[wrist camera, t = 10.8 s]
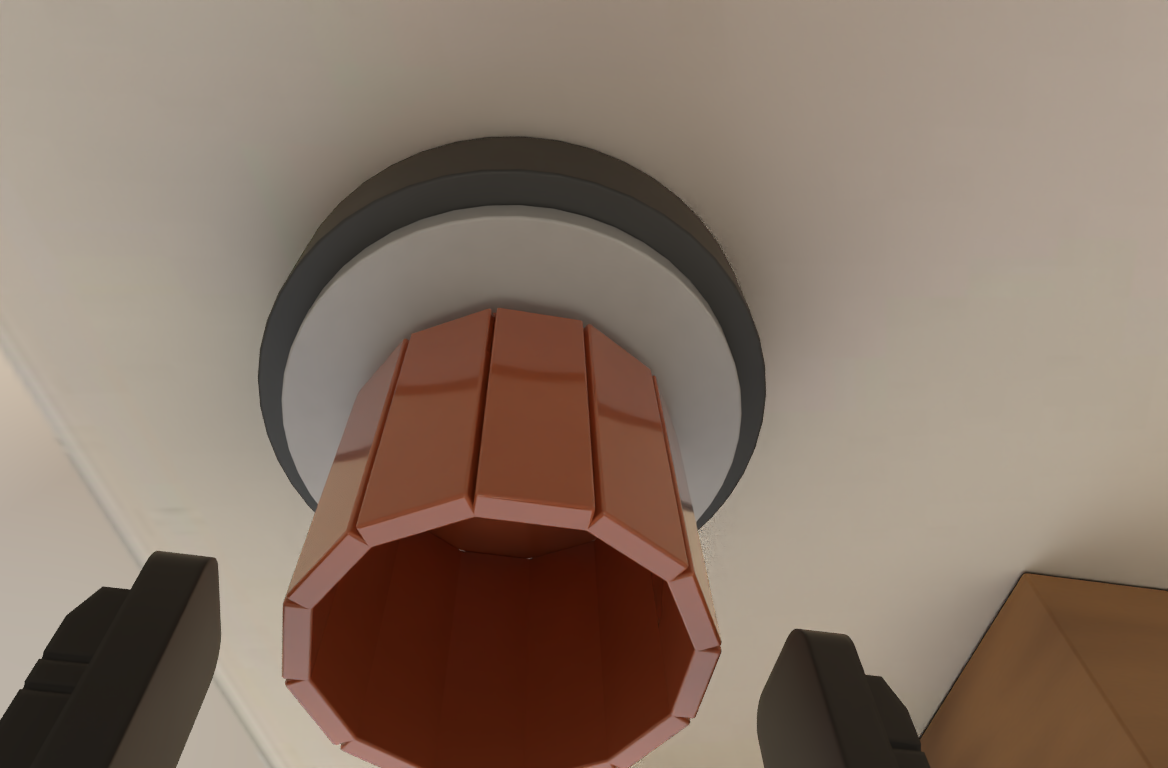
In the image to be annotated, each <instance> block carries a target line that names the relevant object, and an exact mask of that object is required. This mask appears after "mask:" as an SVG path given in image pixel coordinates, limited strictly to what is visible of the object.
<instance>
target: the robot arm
mask: <svg viewBox="0 0 1168 768" xmlns="http://www.w3.org/2000/svg"><path fill="white" fill-rule="evenodd" d="M220 642H221V621H220V598H219V575H218V563H217V560H216V559H215V558H214V557H205V556H197V555H188V554H180V553H172V552H163V551H156V552H154V553H153V554H152V555H151V556H150V557H149V558H148V560H147V562H146V563H145V565H144V567H143V568H142V570H141V572H140V574H139V576H138V577H137V579H136V581H135V583H134V584H133V586H132V588H131V590H128V589H119V588H111V587H102V588H101V589H99V590H98V591H97V592H95V593H94V594H93V595H92V596H90V597H89V598H88V599H87V600H85V601H84V602H83V603H82V604H80V605H79V606H78V607H76V608H75V609H74V610H73V611H71V612H70V613H69V614H68V615H67V616H66V617H65V619H64V620H63V622H62V623H61V625H60V627H59V628H58V630H57V631H56V633H55V634H54V636H53V637H52V639H51V641H50V642H49V644H48V645H47V647H46V649H45V650H44V653H43V657H42V659H39V660H38V661H37V663H36V664H35V666H34V668H33V669H32V671H31V673H30V674H29V676H28V677H27V679H26V680H25V685H24V688H23V689H20V690H19V691H18V693H17V695H16V696H15V698H14V700H13V701H12V703H11V704H10V706H9V707H8V709H7V711H6V712H5V714H4V715H3V717H2V718H1V720H0V768H176V766H177V764H178V761H179V758H180V756H181V754H182V751H183V749H184V747H185V744H186V742H187V739H188V737H189V734H190V732H191V730H192V727H193V725H194V722H195V719H196V717H197V715H198V712H199V710H200V708H201V705H202V703H203V700H204V698H205V695H206V693H207V690H208V688H209V686H210V683H211V680H212V678H213V675H214V671H215V668H216V664H217V660H218V655H219V649H220ZM757 733H758V740H759V745H760V749H761V754H762V758H763V763H764V768H930V765H929V763H928V760H927V757H926V755H925V752H922V751H921V742H920V740H919V737H918V735H917V732H916V730H915V727H914V725H913V722H912V720H911V717H910V715H909V712H908V710H907V708H906V707H905V706H904V705H903V703H902V702H901V701H900V700H899V698H898V697H897V696H896V694H895V693H894V692H893V691H892V689H891V688H890V687H889V686H888V684H887V683H886V682H885V681H884V679H883V678H882V677H880V676H871V675H865V673H864V670H863V667H862V665H861V662H860V659H859V656H858V654H857V651H856V648H855V646H854V643H853V642H852V640H851V639H850V638H849V636H847V635H845V634H837V633H829V632H820V631H812V630H803V629H794V630H793V631H792V632H791V633H790V634H789V636H788V638H787V640H786V642H785V644H784V646H783V648H782V651H781V653H780V655H779V657H778V659H777V661H776V663H775V666H774V668H773V670H772V672H771V674H770V676H769V679H768V681H767V683H766V685H765V687H764V689H763V691H762V694H761V697H760V700H759V705H758V712H757Z"/></svg>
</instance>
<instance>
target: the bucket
mask: <svg viewBox="0 0 1168 768" xmlns="http://www.w3.org/2000/svg"><path fill="white" fill-rule="evenodd" d="M461 550H462V551H461ZM530 558H531V559H530ZM721 642H722V641H721V637H720V632H719V627H718V623H717V618H716V613H715V609H714V604H713V599H712V595H711V590H710V585H709V581H708V576H707V571H706V567H705V562H704V558H703V553H702V548H701V544H700V539H699V534H698V530H697V525H696V520H695V516H694V511H693V506H692V502H691V497H690V492H689V488H688V483H687V478H686V474H685V469H684V464H683V460H682V455H681V450H680V446H679V441H678V437H677V434H676V431H675V428H674V425H673V423H672V420H671V417H670V414H669V411H668V409H667V406H666V403H665V400H664V397H663V395H662V392H661V389H660V386H659V383H658V380H657V378H656V376H655V375H653V376H652V372H651V369H649V368H648V367H647V366H645V365H644V364H643V363H641V362H640V361H639V360H637V359H636V358H635V357H633V356H632V355H631V354H629V353H628V352H627V351H625V350H624V349H623V348H621V347H620V346H619V345H617V344H616V343H615V342H613V341H612V340H611V339H610V338H608V337H607V336H606V335H604V334H603V333H602V332H600V331H599V330H598V329H596V328H595V327H594V326H592V325H591V324H588V325H587V326H586V327H585V328H583V321H581V320H576V319H570V318H563V317H557V316H551V315H544V314H538V313H531V312H525V311H518V310H512V309H506V308H497V310H496V312H495V313H493V312H492V310H491V309H490V308H488V309H485V310H482V311H479V312H476V313H473V314H470V315H467V316H464V317H461V318H458V319H455V320H452V321H449V322H446V323H443V324H440V325H437V326H434V327H431V328H428V329H425V330H422V331H419V332H416V333H413V334H411V336H410V339H409V340H408V339H406V338H405V339H403V340H402V342H401V343H400V344H399V345H398V346H397V347H396V349H395V350H394V351H393V352H392V353H391V354H390V356H389V357H388V358H387V359H386V360H385V362H384V363H383V364H382V365H381V366H380V367H379V369H378V370H377V371H376V372H375V373H374V374H373V376H372V377H371V378H370V379H369V380H368V381H367V383H366V384H365V385H364V386H363V387H362V388H361V390H360V391H359V392H358V394H357V397H356V400H355V402H354V404H353V407H352V410H351V413H350V416H349V418H348V421H347V424H346V427H345V430H344V433H343V435H342V438H341V441H340V444H339V447H338V449H337V452H336V455H335V458H334V461H333V464H332V466H331V469H330V472H329V475H328V478H327V481H326V483H325V486H324V489H323V492H322V495H321V497H320V500H319V503H318V506H317V509H316V512H315V514H314V517H313V520H312V523H311V526H310V528H309V531H308V534H307V537H306V540H305V543H304V545H303V548H302V551H301V554H300V557H299V560H298V562H297V565H296V568H295V571H294V574H293V576H292V579H291V582H290V585H289V588H288V591H287V593H286V596H285V599H284V602H283V622H282V677H283V678H284V679H286V681H285V685H286V687H287V688H288V689H289V691H290V692H291V693H292V694H293V695H294V697H295V698H296V699H297V700H298V702H299V703H300V704H301V705H302V706H303V708H304V709H305V710H306V711H307V713H308V714H309V715H310V716H311V718H312V719H313V720H314V721H315V722H316V724H317V725H318V726H319V727H320V729H321V730H322V731H323V732H324V733H325V735H326V736H327V737H328V738H329V740H330V741H331V742H332V743H333V744H334V745H338V744H341V747H340V748H341V750H342V751H344V752H346V753H349V754H351V755H353V756H355V757H358V758H360V759H362V760H364V761H366V762H369V763H371V764H373V765H375V766H378V767H380V768H629V767H631V766H632V765H633V764H635V763H636V762H638V761H639V760H640V759H642V758H643V757H645V756H646V755H647V754H649V753H650V752H652V751H653V750H654V749H656V748H657V747H659V746H660V745H661V744H663V743H664V742H666V741H667V740H668V739H670V738H671V737H673V736H674V735H675V734H677V733H678V732H679V731H681V730H682V729H684V728H685V727H686V726H688V725H689V724H690V718H695V717H696V714H697V712H698V709H699V707H700V704H701V702H702V699H703V697H704V694H705V692H706V689H707V687H708V684H709V682H710V679H711V677H712V674H713V671H714V669H715V666H716V664H717V661H718V659H719V656H720V654H721V647H720V645H721Z"/></svg>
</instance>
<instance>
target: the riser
mask: <svg viewBox="0 0 1168 768" xmlns="http://www.w3.org/2000/svg"><path fill="white" fill-rule="evenodd" d="M920 742H921V751H922V752H925V755H926V757H927V760H928V763H929V765H930V768H1168V591H1164V590H1156V589H1148V588H1140V587H1132V586H1124V585H1116V584H1108V583H1100V582H1092V581H1084V580H1076V579H1069V578H1061V577H1053V576H1045V575H1037V574H1029V573H1025V574H1023V575H1022V577H1021V578H1020V580H1019V582H1018V583H1017V585H1016V586H1015V588H1014V590H1013V591H1012V593H1011V594H1010V596H1009V598H1008V599H1007V601H1006V602H1005V604H1004V606H1003V607H1002V609H1001V610H1000V612H999V614H998V615H997V617H996V619H995V620H994V622H993V623H992V625H991V627H990V628H989V630H988V631H987V633H986V635H985V636H984V638H983V639H982V641H981V643H980V644H979V646H978V647H977V649H976V651H975V652H974V654H973V655H972V657H971V659H970V660H969V662H968V663H967V665H966V667H965V668H964V670H963V671H962V673H961V675H960V676H959V678H958V679H957V681H956V683H955V684H954V686H953V687H952V689H951V691H950V692H949V694H948V696H947V697H946V699H945V700H944V702H943V704H942V705H941V707H940V708H939V710H938V712H937V713H936V715H935V716H934V718H933V720H932V721H931V723H930V724H929V726H928V728H927V729H926V731H925V732H924V734H923V736H922V737H921V739H920Z"/></svg>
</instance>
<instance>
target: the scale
mask: <svg viewBox="0 0 1168 768" xmlns="http://www.w3.org/2000/svg"><path fill="white" fill-rule="evenodd" d="M488 308H490V309H491V310H492V312H493V313H495V312H496V310H497V308H506V309H512V310H518V311H525V312H531V313H538V314H544V315H551V316H557V317H563V318H570V319H576V320H581V321H583V328H585V327H586V326H587V325H588V324H591V325H592V326H594V327H595V328H596V329H598V330H599V331H600V332H602V333H603V334H604V335H606V336H607V337H608V338H610V339H611V340H612V341H613V342H615V343H616V344H617V345H619V346H620V347H621V348H623V349H624V350H625V351H627V352H628V353H629V354H631V355H632V356H633V357H635V358H636V359H637V360H639V361H640V362H641V363H643V364H644V365H645V366H647V367H648V368H649V369H651V372H652V376H653V375H655V376H656V378H657V380H658V383H659V386H660V389H661V392H662V395H663V397H664V400H665V403H666V406H667V409H668V411H669V414H670V417H671V420H672V423H673V425H674V428H675V431H676V434H677V437H678V441H679V446H680V450H681V455H682V460H683V464H684V469H685V474H686V478H687V483H688V488H689V492H690V497H691V502H692V506H693V511H694V516H695V520H696V525H697V530H699V529H700V528H701V527H702V526H703V525H704V524H705V523H706V522H707V521H708V520H709V519H710V518H711V517H713V515H714V514H715V513H716V512H717V510H718V509H719V508H720V507H721V506H722V504H723V503H724V502H725V501H726V500H727V498H728V497H729V496H730V494H731V493H732V491H733V490H734V488H735V486H736V485H737V483H738V482H739V480H740V478H741V477H742V475H743V474H744V472H745V469H746V467H747V465H748V463H749V461H750V458H751V456H752V454H753V452H754V449H755V447H756V443H757V439H758V436H759V432H760V429H761V425H762V422H763V414H764V406H765V398H766V381H765V364H764V358H763V353H762V348H761V343H760V338H759V335H758V332H757V329H756V327H755V324H754V321H753V318H752V315H751V313H750V310H749V308H748V305H747V303H746V301H745V298H744V296H743V294H742V291H741V289H740V287H739V284H738V282H737V280H736V277H735V275H734V273H733V270H732V268H731V266H730V264H729V263H728V261H727V259H726V257H725V255H724V253H723V251H722V250H721V248H720V246H719V244H718V243H717V241H716V240H715V239H714V237H713V236H712V235H711V233H710V232H709V231H708V229H707V228H706V226H705V225H704V224H703V222H702V221H701V220H700V219H699V218H698V217H697V216H696V215H695V214H694V213H693V212H692V211H691V210H690V209H689V208H688V207H687V206H686V205H685V204H684V203H683V202H682V201H681V200H680V199H679V198H678V197H677V196H676V195H674V194H673V193H672V192H670V191H669V190H668V189H666V188H665V187H664V186H662V185H661V184H660V183H658V182H657V181H656V180H654V179H653V178H652V177H650V176H648V175H646V174H644V173H643V172H641V171H639V170H637V169H635V168H634V167H632V166H630V165H628V164H627V163H625V162H623V161H620V160H618V159H615V158H613V157H610V156H607V155H605V154H602V153H600V152H597V151H595V150H592V149H588V148H584V147H580V146H576V145H572V144H568V143H564V142H560V141H554V140H545V139H537V138H528V137H492V138H483V139H476V140H469V141H462V142H456V143H452V144H448V145H445V146H441V147H438V148H434V149H431V150H427V151H424V152H421V153H419V154H416V155H414V156H412V157H410V158H407V159H405V160H403V161H401V162H398V163H396V164H394V165H392V166H390V167H388V168H387V169H385V170H384V171H382V172H380V173H379V174H377V175H376V176H374V177H372V178H371V179H369V180H368V181H366V182H364V183H363V184H362V185H361V186H359V187H358V188H357V189H356V190H355V191H354V192H352V193H351V194H350V195H349V196H348V197H347V198H345V199H344V200H343V201H342V202H341V203H340V204H339V205H338V206H337V207H336V208H335V209H334V210H333V212H332V213H331V214H330V215H329V216H328V217H327V218H326V220H325V221H324V222H323V223H322V224H321V225H320V227H319V228H318V230H317V231H316V233H315V235H314V236H313V238H312V239H311V241H310V243H309V244H308V246H307V247H306V249H305V250H304V252H303V254H302V255H301V257H300V259H299V260H298V262H297V264H296V265H295V267H294V268H293V270H292V272H291V273H290V275H289V277H288V278H287V280H286V282H285V283H284V285H283V286H282V288H281V290H280V291H279V293H278V296H277V298H276V300H275V303H274V305H273V307H272V310H271V312H270V315H269V317H268V319H267V323H266V327H265V331H264V335H263V339H262V343H261V347H260V357H259V370H258V385H259V396H260V407H261V411H262V415H263V419H264V423H265V427H266V431H267V435H268V437H269V440H270V442H271V445H272V447H273V450H274V452H275V455H276V457H277V459H278V461H279V463H280V465H281V467H282V468H283V470H284V472H285V473H286V475H287V477H288V479H289V480H290V482H291V484H292V485H293V486H294V488H295V489H296V490H297V492H298V493H299V494H300V496H301V497H302V498H303V499H304V501H305V502H306V503H307V505H308V506H309V507H310V508H311V509H312V510H313V511H314V512H316V509H317V506H318V503H319V500H320V497H321V495H322V492H323V489H324V486H325V483H326V481H327V478H328V475H329V472H330V469H331V466H332V464H333V461H334V458H335V455H336V452H337V449H338V447H339V444H340V441H341V438H342V435H343V433H344V430H345V427H346V424H347V421H348V418H349V416H350V413H351V410H352V407H353V404H354V402H355V400H356V397H357V394H358V392H359V391H360V390H361V388H362V387H363V386H364V385H365V384H366V383H367V381H368V380H369V379H370V378H371V377H372V376H373V374H374V373H375V372H376V371H377V370H378V369H379V367H380V366H381V365H382V364H383V363H384V362H385V360H386V359H387V358H388V357H389V356H390V354H391V353H392V352H393V351H394V350H395V349H396V347H397V346H398V345H399V344H400V343H401V342H402V340H403V339H405V338H406V339H408V340H409V339H410V336H411V334H413V333H416V332H419V331H422V330H425V329H428V328H431V327H434V326H437V325H440V324H443V323H446V322H449V321H452V320H455V319H458V318H461V317H464V316H467V315H470V314H473V313H476V312H479V311H482V310H485V309H488ZM461 551H462V550H461ZM530 559H531V558H530Z"/></svg>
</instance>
